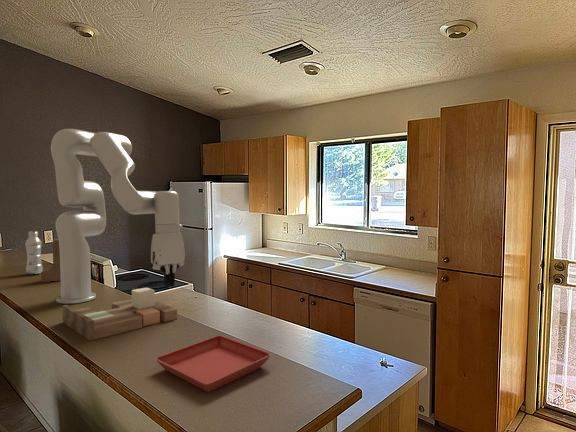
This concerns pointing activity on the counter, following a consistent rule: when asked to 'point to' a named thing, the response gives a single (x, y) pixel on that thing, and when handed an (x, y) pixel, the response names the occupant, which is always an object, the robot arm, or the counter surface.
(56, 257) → the wooden block
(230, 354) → the plant saucer
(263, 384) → the counter surface
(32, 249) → the plastic bottle
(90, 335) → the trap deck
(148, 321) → the salmon block
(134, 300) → the cream cube
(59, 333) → the counter surface
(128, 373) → the counter surface
